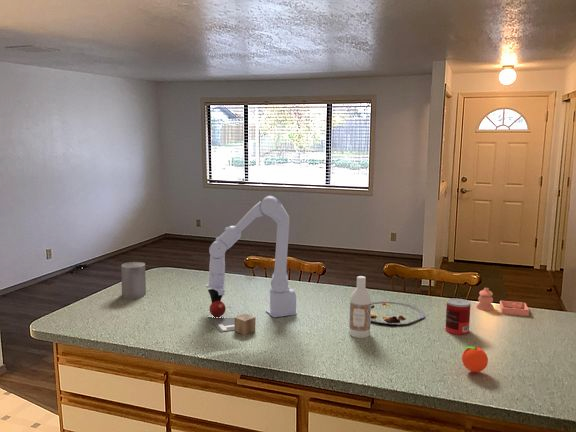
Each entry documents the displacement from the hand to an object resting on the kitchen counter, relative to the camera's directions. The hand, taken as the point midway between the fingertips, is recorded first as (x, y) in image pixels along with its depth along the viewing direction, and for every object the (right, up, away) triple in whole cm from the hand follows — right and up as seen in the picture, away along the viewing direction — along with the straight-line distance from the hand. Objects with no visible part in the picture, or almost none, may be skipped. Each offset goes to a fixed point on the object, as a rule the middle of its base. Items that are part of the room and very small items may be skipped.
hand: (215, 308), depth 188 cm
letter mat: (+6, -3, -8) cm, 10 cm away
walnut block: (+11, -2, -16) cm, 19 cm away
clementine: (+79, -9, -46) cm, 92 cm away
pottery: (+109, -3, +4) cm, 109 cm away
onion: (0, -1, -1) cm, 1 cm away
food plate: (+65, -4, 0) cm, 65 cm away
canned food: (+85, -6, -16) cm, 87 cm away
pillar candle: (-37, +1, +22) cm, 43 cm away
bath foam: (+51, -6, -19) cm, 55 cm away
